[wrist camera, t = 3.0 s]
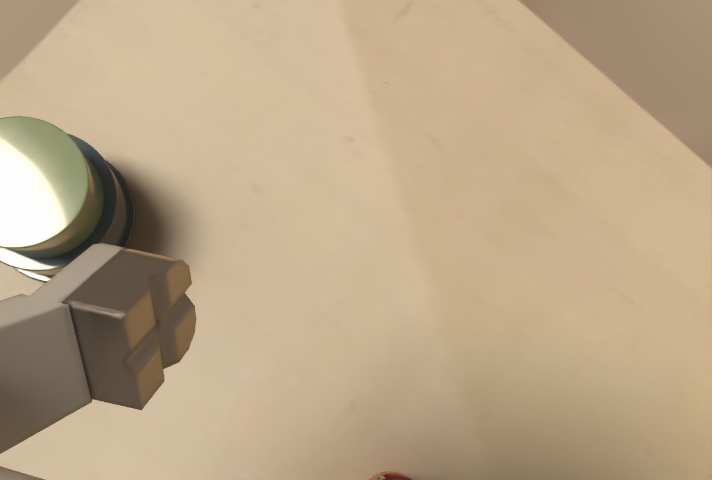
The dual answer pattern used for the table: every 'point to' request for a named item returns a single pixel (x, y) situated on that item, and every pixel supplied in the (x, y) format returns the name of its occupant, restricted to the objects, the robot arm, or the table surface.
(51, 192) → the cup stack
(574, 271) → the table surface
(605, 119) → the table surface
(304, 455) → the table surface
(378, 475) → the pill bottle
